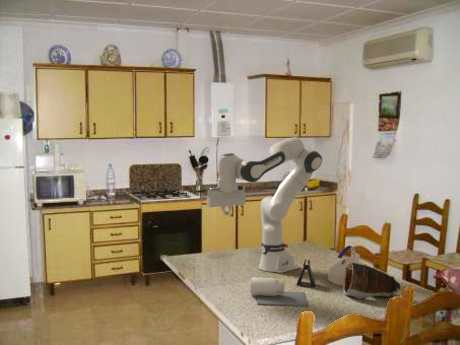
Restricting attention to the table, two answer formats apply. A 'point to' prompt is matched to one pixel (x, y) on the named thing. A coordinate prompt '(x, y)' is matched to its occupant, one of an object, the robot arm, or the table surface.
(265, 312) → the table surface
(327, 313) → the table surface
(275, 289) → the pill bottle
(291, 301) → the mat
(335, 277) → the kettle
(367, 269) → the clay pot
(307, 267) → the phone stand
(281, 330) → the table surface
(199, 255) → the table surface
